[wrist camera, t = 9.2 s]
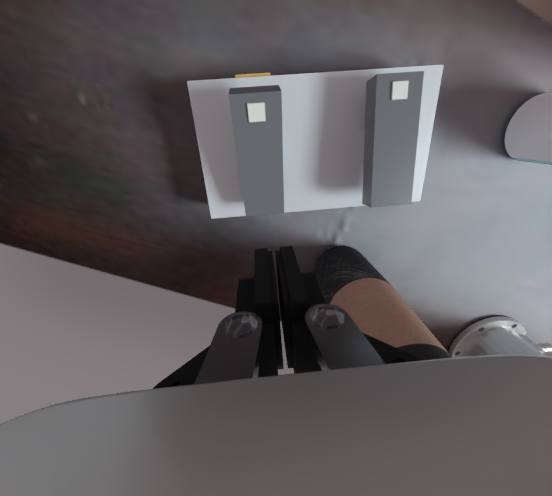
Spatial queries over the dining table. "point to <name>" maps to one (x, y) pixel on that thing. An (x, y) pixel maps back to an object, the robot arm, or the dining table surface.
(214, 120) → the switch housing
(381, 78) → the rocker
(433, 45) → the dining table surface
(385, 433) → the robot arm
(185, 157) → the dining table surface
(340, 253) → the travel mug
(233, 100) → the block
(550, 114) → the can
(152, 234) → the dining table surface
